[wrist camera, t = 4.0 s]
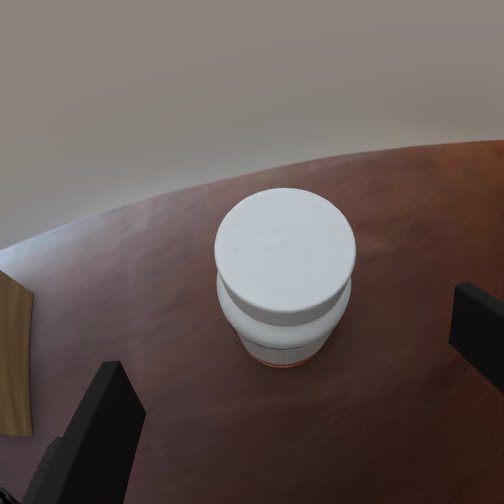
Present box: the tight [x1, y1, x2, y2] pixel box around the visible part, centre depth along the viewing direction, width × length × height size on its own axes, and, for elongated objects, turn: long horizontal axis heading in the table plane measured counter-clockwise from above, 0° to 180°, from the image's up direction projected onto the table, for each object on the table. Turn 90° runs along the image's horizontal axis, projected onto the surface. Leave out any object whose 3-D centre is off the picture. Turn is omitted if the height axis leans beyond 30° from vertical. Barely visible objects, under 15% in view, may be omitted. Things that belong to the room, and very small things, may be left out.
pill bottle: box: [214, 188, 356, 368], centre depth 16 cm, size 6×6×11 cm
